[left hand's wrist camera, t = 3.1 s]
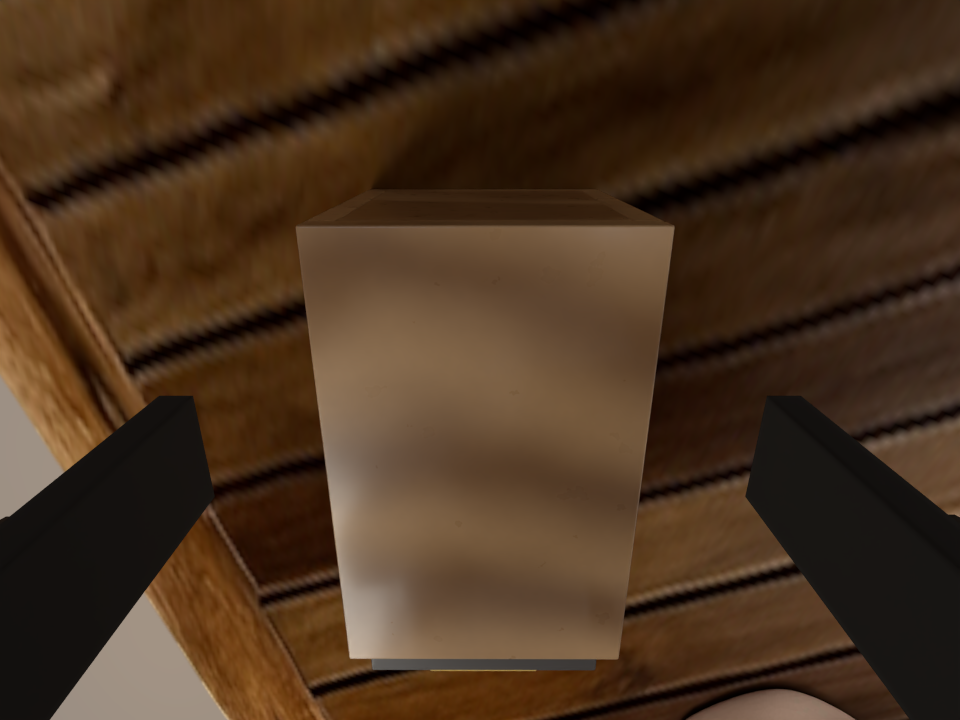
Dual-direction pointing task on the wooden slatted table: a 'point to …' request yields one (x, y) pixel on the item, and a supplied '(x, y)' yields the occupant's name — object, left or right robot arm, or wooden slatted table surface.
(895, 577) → the left robot arm
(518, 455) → the cabinet
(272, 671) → the wooden slatted table surface
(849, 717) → the anatomical model
